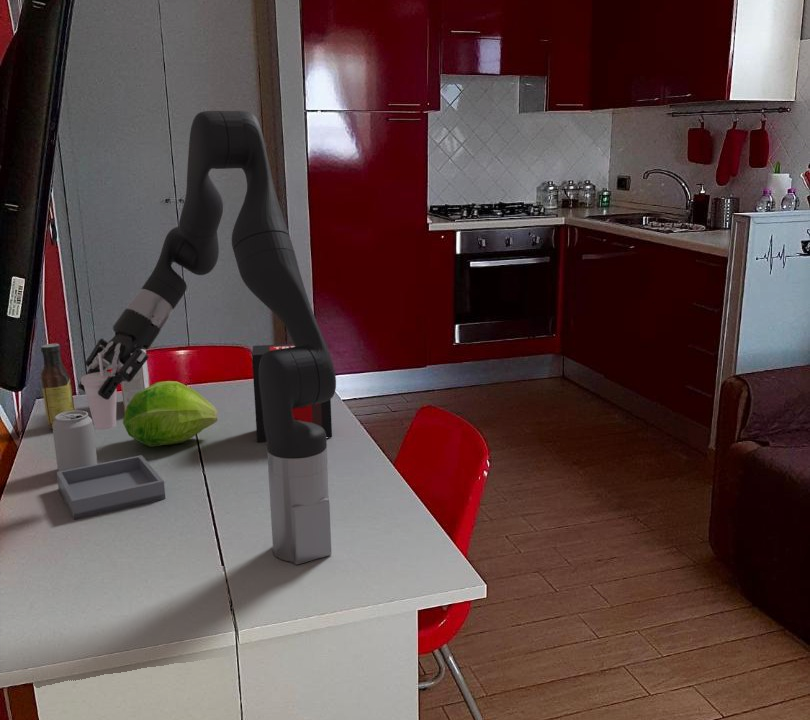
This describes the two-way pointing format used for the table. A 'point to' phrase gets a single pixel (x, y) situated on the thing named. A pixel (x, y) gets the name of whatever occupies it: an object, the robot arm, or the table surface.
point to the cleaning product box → (310, 413)
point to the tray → (110, 486)
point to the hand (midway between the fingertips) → (92, 393)
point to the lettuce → (167, 414)
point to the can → (74, 440)
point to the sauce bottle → (55, 384)
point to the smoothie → (100, 399)
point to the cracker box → (135, 384)
